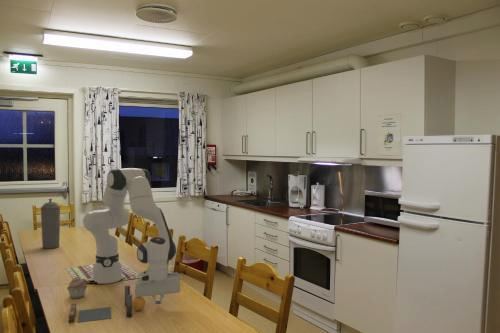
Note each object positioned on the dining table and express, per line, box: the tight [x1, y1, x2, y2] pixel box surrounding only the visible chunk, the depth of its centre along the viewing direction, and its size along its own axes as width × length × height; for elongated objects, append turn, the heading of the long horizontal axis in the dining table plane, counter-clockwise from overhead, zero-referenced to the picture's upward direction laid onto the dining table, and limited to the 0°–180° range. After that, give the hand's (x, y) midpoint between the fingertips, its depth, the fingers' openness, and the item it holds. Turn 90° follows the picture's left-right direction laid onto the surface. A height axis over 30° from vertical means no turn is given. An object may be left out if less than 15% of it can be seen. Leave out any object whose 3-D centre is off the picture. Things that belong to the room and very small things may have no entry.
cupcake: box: [66, 275, 88, 299], centre depth 204 cm, size 9×9×10 cm
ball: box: [132, 296, 146, 311], centre depth 188 cm, size 6×6×6 cm
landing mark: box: [77, 306, 112, 323], centre depth 183 cm, size 13×13×1 cm
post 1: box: [124, 284, 131, 307], centre depth 193 cm, size 2×2×9 cm
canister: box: [40, 198, 61, 250], centre depth 301 cm, size 13×13×35 cm
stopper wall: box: [68, 303, 77, 324], centre depth 180 cm, size 14×2×3 cm, turn 19°
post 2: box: [125, 294, 133, 318], centre depth 181 cm, size 2×2×9 cm
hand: (158, 303), depth 191 cm, fingers closed
